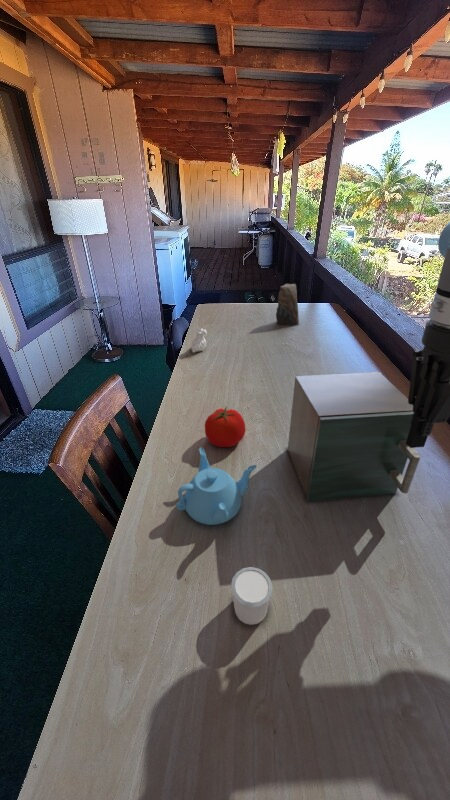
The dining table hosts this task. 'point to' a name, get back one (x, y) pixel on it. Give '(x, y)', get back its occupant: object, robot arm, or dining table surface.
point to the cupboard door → (362, 456)
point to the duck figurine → (199, 341)
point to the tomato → (224, 427)
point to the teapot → (213, 493)
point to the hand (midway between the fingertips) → (414, 444)
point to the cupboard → (335, 409)
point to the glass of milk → (251, 594)
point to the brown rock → (287, 305)
